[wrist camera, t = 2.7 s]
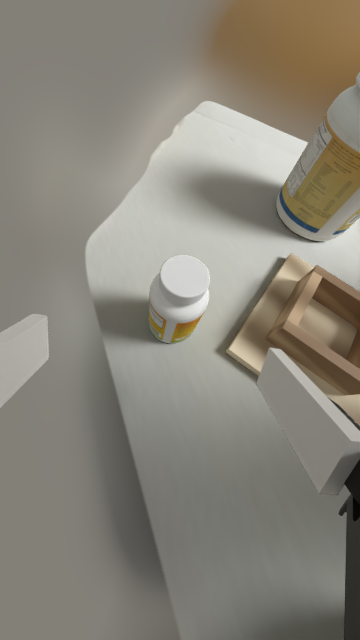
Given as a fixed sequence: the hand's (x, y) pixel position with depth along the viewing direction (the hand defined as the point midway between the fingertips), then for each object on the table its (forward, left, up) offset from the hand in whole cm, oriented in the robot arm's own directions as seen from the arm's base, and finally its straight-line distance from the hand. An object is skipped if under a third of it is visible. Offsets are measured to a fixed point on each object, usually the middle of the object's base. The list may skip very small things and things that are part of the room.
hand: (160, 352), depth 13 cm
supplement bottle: (-6, -2, -11) cm, 13 cm away
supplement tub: (-36, +4, -11) cm, 38 cm away
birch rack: (-16, +13, -11) cm, 23 cm away
